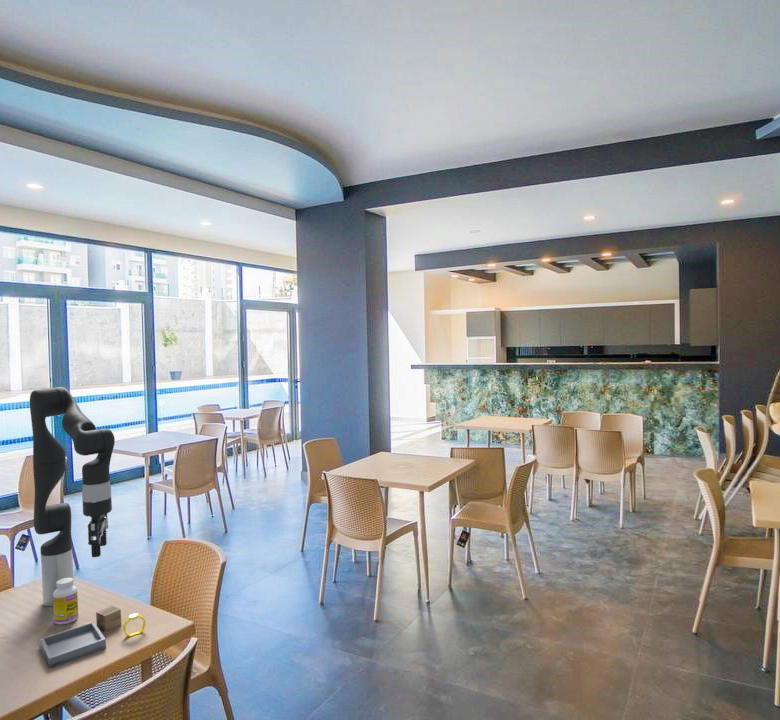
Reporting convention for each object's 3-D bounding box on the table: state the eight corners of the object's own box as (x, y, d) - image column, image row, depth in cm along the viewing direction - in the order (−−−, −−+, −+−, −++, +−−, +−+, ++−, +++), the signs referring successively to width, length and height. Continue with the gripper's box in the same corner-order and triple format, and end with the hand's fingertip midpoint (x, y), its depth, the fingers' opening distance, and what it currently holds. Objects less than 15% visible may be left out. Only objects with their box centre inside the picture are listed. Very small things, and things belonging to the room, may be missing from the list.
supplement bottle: (67, 626, 170) (65, 585, 169) (49, 624, 171) (47, 584, 171) (83, 615, 176) (81, 576, 176) (65, 614, 178) (63, 575, 177)
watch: (125, 640, 161) (123, 621, 161) (123, 636, 163) (121, 617, 163) (147, 632, 165) (144, 613, 164) (144, 628, 167) (142, 609, 166)
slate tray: (40, 647, 158) (40, 638, 158) (94, 629, 167) (93, 621, 167) (49, 668, 148) (49, 658, 147) (106, 647, 157) (105, 639, 157)
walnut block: (96, 628, 168) (96, 612, 168) (112, 620, 173) (111, 605, 172) (105, 632, 166) (104, 616, 166) (121, 625, 170) (120, 609, 170)
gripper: (88, 491, 166) (90, 543, 167) (76, 505, 153) (79, 562, 153) (115, 489, 168) (117, 540, 169) (106, 502, 155) (108, 558, 156)
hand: (99, 551), depth 161 cm, fingers open, 8 cm apart
